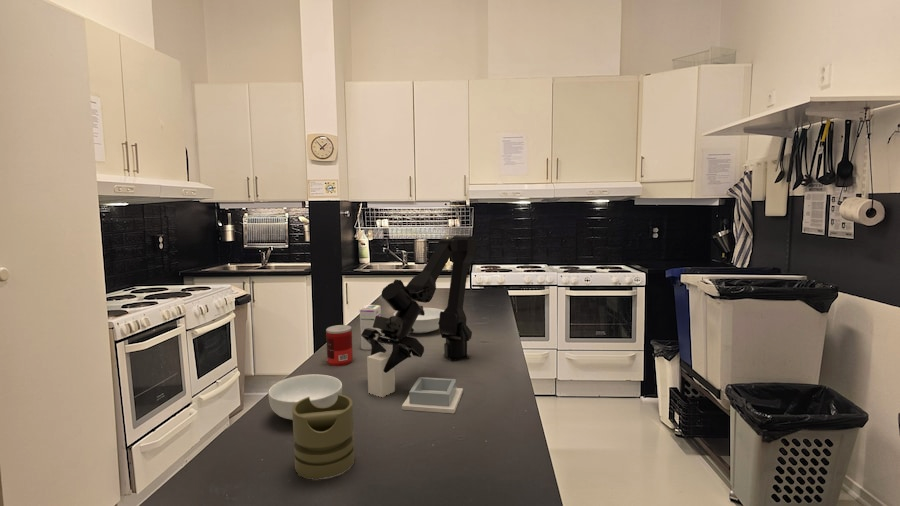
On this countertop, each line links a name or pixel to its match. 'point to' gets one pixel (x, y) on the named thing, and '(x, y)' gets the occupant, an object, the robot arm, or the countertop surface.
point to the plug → (380, 375)
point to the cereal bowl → (303, 392)
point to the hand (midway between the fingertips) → (377, 369)
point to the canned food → (339, 345)
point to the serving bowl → (427, 321)
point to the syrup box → (368, 322)
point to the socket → (433, 395)
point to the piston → (323, 437)
